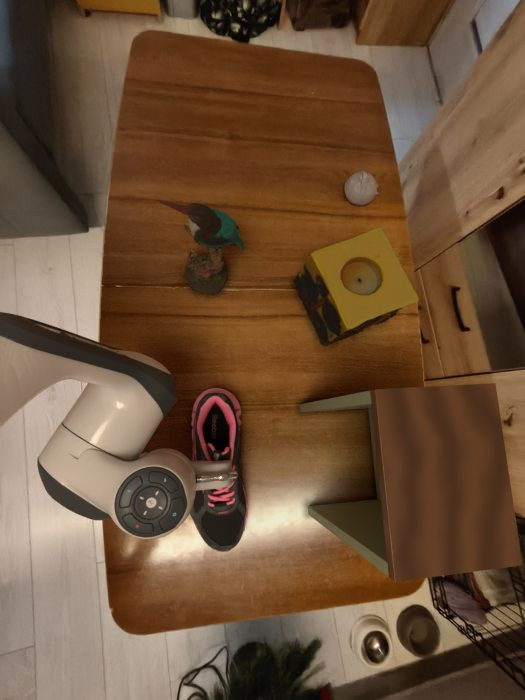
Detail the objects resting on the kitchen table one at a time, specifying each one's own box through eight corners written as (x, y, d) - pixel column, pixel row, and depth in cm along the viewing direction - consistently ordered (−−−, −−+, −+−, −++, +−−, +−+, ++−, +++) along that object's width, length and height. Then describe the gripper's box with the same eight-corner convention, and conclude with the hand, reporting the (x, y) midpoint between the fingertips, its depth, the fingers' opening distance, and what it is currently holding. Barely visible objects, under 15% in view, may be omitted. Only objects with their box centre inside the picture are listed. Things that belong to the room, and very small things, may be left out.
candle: (385, 322, 87) (423, 301, 72) (321, 349, 84) (348, 333, 69) (354, 256, 88) (385, 223, 74) (290, 281, 85) (309, 251, 71)
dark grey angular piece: (308, 514, 78) (388, 577, 46) (300, 404, 81) (369, 390, 49) (385, 506, 80) (513, 561, 48) (374, 400, 84) (487, 384, 51)
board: (388, 577, 46) (394, 582, 44) (369, 390, 49) (374, 389, 48) (513, 561, 48) (523, 565, 47) (487, 384, 51) (495, 383, 50)
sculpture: (166, 250, 82) (155, 176, 58) (239, 257, 84) (258, 189, 60) (163, 290, 81) (150, 233, 56) (237, 297, 83) (255, 244, 58)
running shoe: (190, 549, 74) (189, 575, 61) (179, 391, 78) (176, 385, 65) (251, 540, 75) (263, 563, 63) (238, 386, 80) (246, 379, 67)
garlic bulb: (371, 213, 91) (387, 193, 83) (339, 208, 90) (353, 188, 82) (371, 185, 92) (388, 162, 84) (340, 180, 91) (354, 157, 83)
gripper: (238, 452, 60) (230, 447, 73) (85, 463, 57) (106, 456, 70) (240, 499, 59) (232, 485, 72) (84, 513, 56) (106, 496, 69)
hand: (169, 471), depth 71 cm, fingers closed
